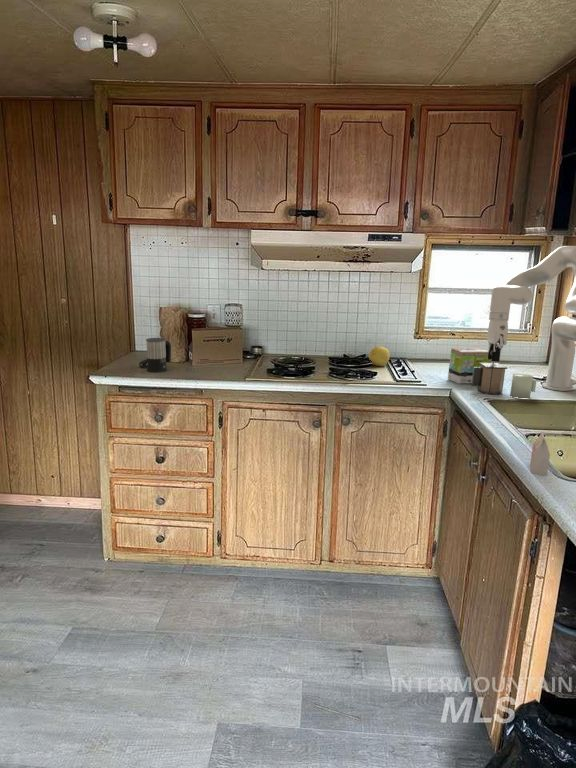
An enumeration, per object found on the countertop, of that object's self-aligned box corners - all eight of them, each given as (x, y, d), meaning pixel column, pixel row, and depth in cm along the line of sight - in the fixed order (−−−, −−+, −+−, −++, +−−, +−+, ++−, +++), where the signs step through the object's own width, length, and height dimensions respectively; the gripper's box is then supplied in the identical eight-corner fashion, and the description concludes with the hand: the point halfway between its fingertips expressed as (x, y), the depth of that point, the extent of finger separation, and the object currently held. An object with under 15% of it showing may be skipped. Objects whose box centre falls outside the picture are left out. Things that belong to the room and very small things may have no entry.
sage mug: (528, 394, 221) (531, 373, 219) (537, 399, 214) (540, 378, 212) (507, 394, 221) (509, 373, 219) (514, 399, 214) (517, 377, 212)
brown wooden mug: (496, 389, 229) (500, 362, 226) (506, 395, 219) (509, 367, 217) (467, 388, 229) (470, 362, 226) (475, 394, 219) (478, 367, 216)
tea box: (459, 384, 236) (463, 351, 232) (447, 379, 245) (450, 348, 242) (488, 383, 240) (492, 351, 236) (474, 378, 249) (478, 347, 246)
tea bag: (544, 466, 145) (550, 432, 142) (546, 476, 139) (552, 440, 136) (530, 464, 146) (535, 430, 144) (531, 473, 140) (536, 438, 137)
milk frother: (162, 373, 242) (161, 341, 238) (130, 371, 244) (128, 339, 241) (173, 366, 256) (173, 336, 252) (143, 364, 258) (141, 334, 254)
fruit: (392, 365, 272) (393, 346, 270) (382, 368, 264) (383, 349, 262) (374, 362, 279) (376, 343, 276) (364, 365, 270) (365, 346, 268)
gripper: (516, 319, 209) (510, 364, 213) (500, 314, 224) (494, 356, 229) (497, 318, 208) (491, 364, 213) (482, 314, 224) (477, 356, 229)
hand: (493, 359), depth 221 cm, fingers closed on plunger, 3 cm apart
